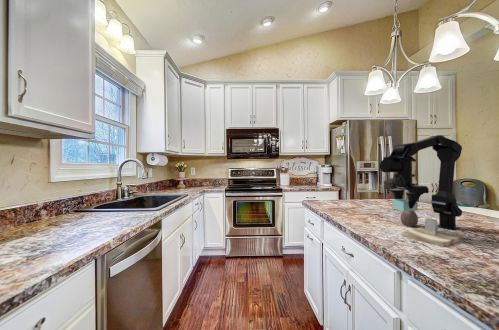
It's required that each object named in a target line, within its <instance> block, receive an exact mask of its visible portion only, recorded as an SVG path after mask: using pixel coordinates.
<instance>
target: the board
mask: <svg viewBox="0 0 499 330" xmlns="http://www.w3.org/2000/svg"><path fill="white" fill-rule="evenodd" d="M401 237H405V238H409V239H413V240H416V241H420V242H424V243H427V244H432V245H436V246H438V247H443V248H444V247H447V246H450V245H452V244H456V243H458V242H462V241H464V238H463V237H464V236H463V235H459V234H454V233H450V232H445V231H440V230H437V235H436V236H435V235H430V234H426V233H425V227H423V226H422V227H417V228H414V229H409V230H405V231H401Z"/></svg>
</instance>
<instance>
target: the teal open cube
mask: <svg viewBox="0 0 499 330" xmlns="http://www.w3.org/2000/svg"><path fill="white" fill-rule="evenodd" d="M392 209H395V210H398V211H401V212H403V211H414V212H415V211H419V210H418V209H419V208H418V201H417V202H416V203H415V205H414V207H413V208H412V209H410V208H409V200H408V198H402V199H395V198H393V199H392Z"/></svg>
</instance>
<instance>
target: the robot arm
mask: <svg viewBox="0 0 499 330" xmlns="http://www.w3.org/2000/svg"><path fill="white" fill-rule="evenodd" d="M430 147H431V148H432V150H434V151H435V152H436V156H437V158H438V160H439V162H440V164H439V165H440V166H439V176H438V186H437V187H438V188H437V192H436V193H435V194H432V195H431V201H430V203H431V207H432V209H433V212H434V214H435V213H436V214H438V219H439V220H438V224H437V228H441V229H442V228H443V229H446V230H451V231H453V230H457V229H460V226H457V217H461V216H463V215H462V214H463V211H462V209H461V208H460V207H459V206H458V205H457V199H456V197H455V196H454V193H453V187H454V185H453V184H454V179H455V178H454V177H455V176H454V175H455V165H456V161H457V160H459V159H460V157H461V155H462V150H463V148H462V147H463V146H462V145H461V144H460V143H459V142H457V141H455V140H453V139H450V138H446V136H444V135H442V134H441V135H440V134H438V135H432V136H429V137H426V138H423V139H420V140H417V141H412V142H410V143H401V144H396V145H394V148H393V150H392V152H390V155H389V156H383V159H382V160H381V161H380V164H379V169H380V171H381V172H382V173H394V174H393V177H392V178H389V179H386V180H384V181H383V185H384V186H383V187H384V190H385V189H386V190H388V192H390V193H391V194H392V195H393V197H394V199H404V198H403V196H404V194H405V195H406V196H407V199H408V200H409V208H410V209H412V208H413V207H414V205H415V203H416V202H417V203H418V200H419V199H420V197H421V196H422V195H424V194H429V187H428V186H427V185H421V184H420V185H417V184H415V183H413V177H414V178H416V177H415V176H416V175H415V174H413V163H415V162H417V160H416V158H414V157H413V156H414V155H416V154H418V152H419V151H422V150H426V149H427V148H430ZM405 191H408V192H405Z"/></svg>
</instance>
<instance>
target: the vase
mask: <svg viewBox="0 0 499 330" xmlns="http://www.w3.org/2000/svg"><path fill="white" fill-rule="evenodd" d="M400 221H401V223H402V225H403V226H405V227H408V226H409V228H414V227H415V226H417V225H418V223H419V217H418V214H417V213H416V212H415V211H401V214H400Z"/></svg>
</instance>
